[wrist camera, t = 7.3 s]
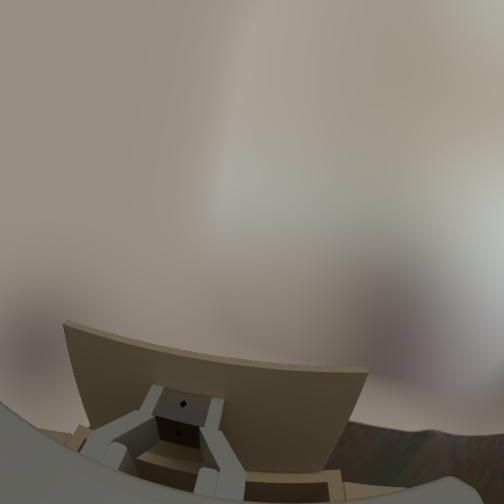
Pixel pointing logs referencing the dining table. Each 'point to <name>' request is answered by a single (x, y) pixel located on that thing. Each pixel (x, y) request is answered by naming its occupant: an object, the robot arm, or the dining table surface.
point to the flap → (221, 396)
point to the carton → (257, 481)
